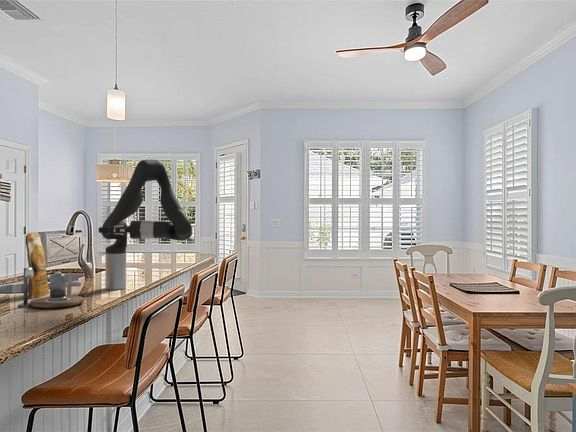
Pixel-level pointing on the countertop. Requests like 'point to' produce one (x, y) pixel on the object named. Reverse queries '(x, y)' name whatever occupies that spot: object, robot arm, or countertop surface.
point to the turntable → (58, 304)
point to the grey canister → (57, 287)
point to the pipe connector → (71, 284)
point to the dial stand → (26, 287)
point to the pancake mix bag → (36, 266)
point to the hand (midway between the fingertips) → (101, 229)
